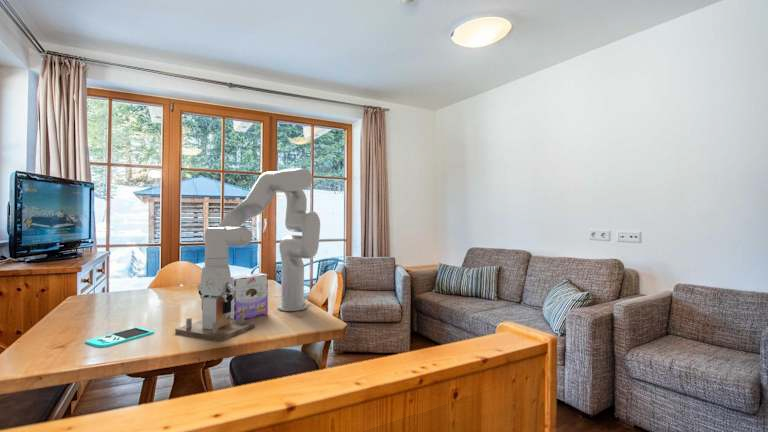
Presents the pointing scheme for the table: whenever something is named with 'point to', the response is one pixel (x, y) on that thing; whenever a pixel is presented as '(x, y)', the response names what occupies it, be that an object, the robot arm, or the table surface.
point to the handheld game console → (119, 337)
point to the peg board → (221, 330)
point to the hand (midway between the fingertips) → (216, 311)
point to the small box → (213, 312)
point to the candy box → (249, 296)
